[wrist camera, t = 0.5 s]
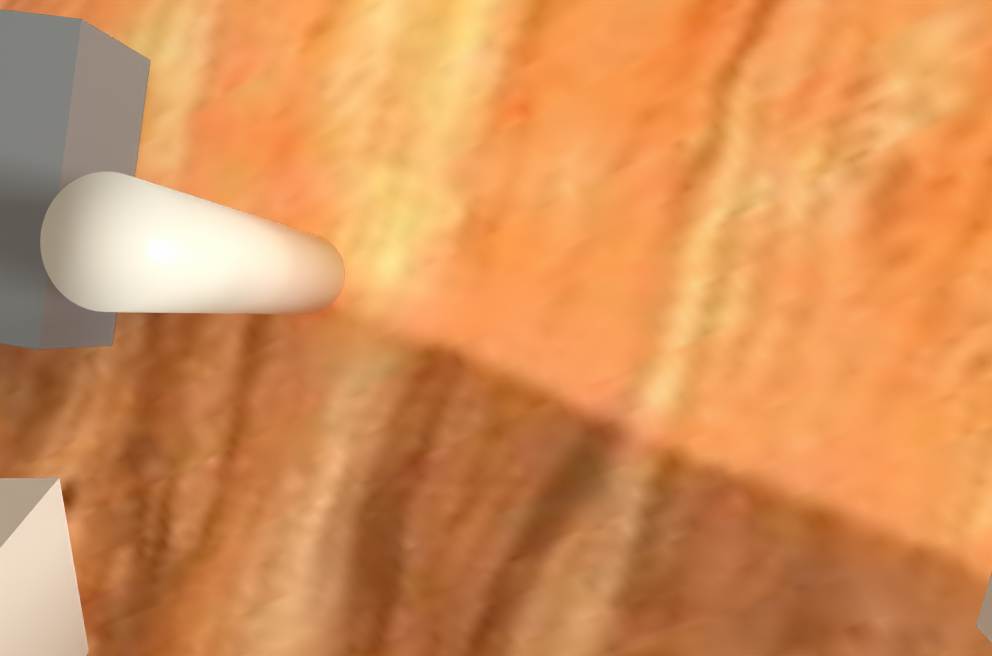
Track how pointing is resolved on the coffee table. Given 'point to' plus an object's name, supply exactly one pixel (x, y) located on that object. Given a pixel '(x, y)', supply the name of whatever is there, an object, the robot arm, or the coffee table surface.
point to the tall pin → (180, 253)
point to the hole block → (57, 159)
